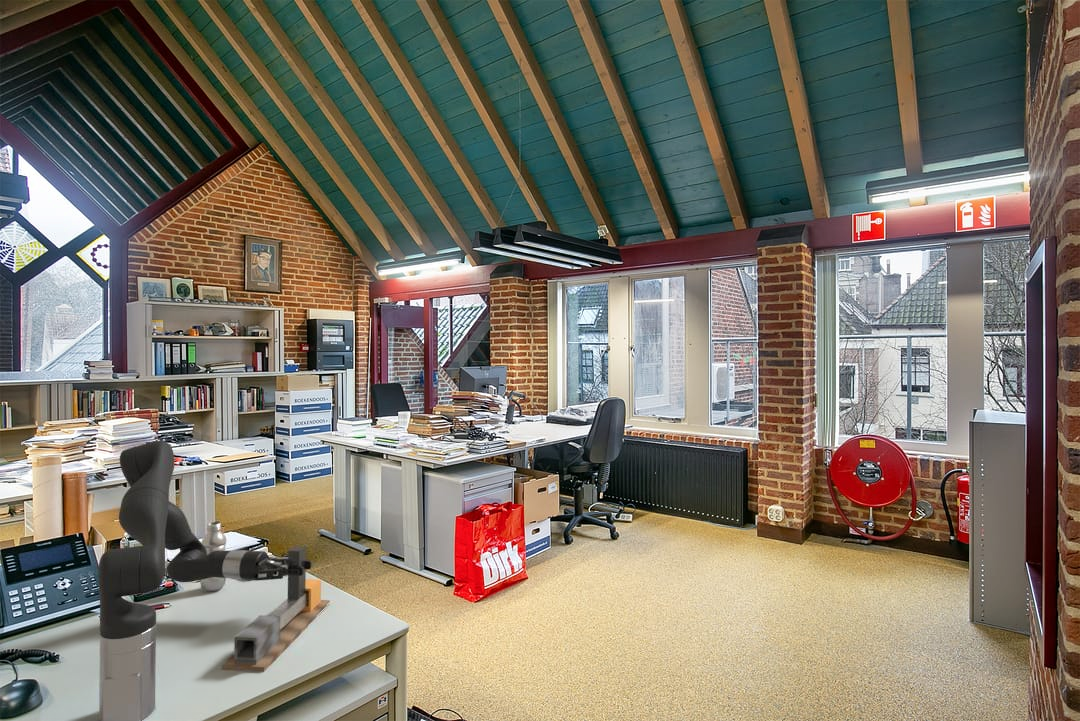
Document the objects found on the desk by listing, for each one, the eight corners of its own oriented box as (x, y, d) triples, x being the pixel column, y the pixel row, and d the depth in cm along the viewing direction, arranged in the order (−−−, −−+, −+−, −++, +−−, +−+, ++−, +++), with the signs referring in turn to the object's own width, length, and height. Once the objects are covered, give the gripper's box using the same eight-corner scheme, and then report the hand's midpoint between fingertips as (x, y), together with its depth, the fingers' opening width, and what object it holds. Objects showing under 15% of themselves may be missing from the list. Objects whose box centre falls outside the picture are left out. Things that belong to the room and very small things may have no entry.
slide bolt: (273, 636, 145) (274, 570, 145) (259, 635, 146) (260, 569, 145) (313, 598, 167) (313, 541, 167) (301, 598, 168) (302, 540, 167)
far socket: (310, 611, 163) (311, 588, 163) (290, 610, 164) (291, 587, 164) (320, 601, 170) (321, 579, 170) (301, 600, 170) (302, 578, 170)
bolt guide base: (263, 671, 135) (264, 640, 135) (221, 669, 136) (221, 638, 135) (329, 603, 171) (330, 579, 171) (295, 602, 171) (296, 577, 171)
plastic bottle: (201, 587, 180) (201, 521, 180) (226, 584, 183) (227, 519, 183) (199, 595, 174) (199, 527, 174) (225, 592, 177) (226, 525, 177)
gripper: (230, 560, 154) (294, 563, 153) (259, 542, 169) (318, 545, 168) (230, 589, 155) (294, 592, 154) (259, 569, 169) (318, 571, 168)
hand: (306, 567), depth 161 cm, fingers closed on slide bolt, 4 cm apart
